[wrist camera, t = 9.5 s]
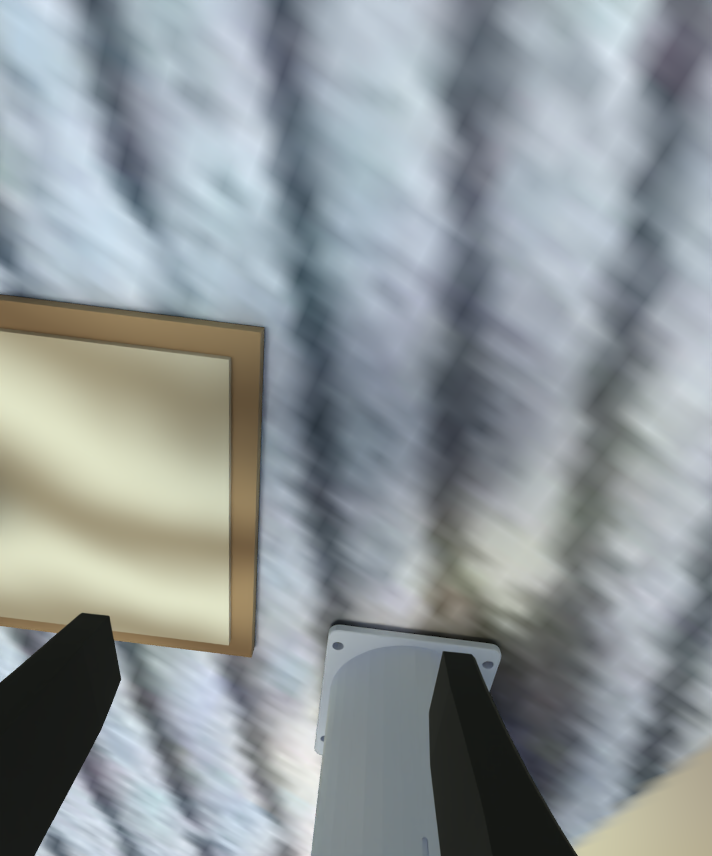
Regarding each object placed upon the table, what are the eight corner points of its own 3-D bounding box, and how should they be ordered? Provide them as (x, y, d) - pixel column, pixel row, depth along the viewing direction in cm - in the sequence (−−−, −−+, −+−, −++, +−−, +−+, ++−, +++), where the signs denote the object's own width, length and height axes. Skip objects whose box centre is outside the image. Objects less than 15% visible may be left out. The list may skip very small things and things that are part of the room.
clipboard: (254, 647, 25) (248, 670, 24) (-144, 596, 26) (-169, 617, 24) (264, 327, 18) (255, 338, 17) (-293, 258, 18) (-338, 264, 17)
